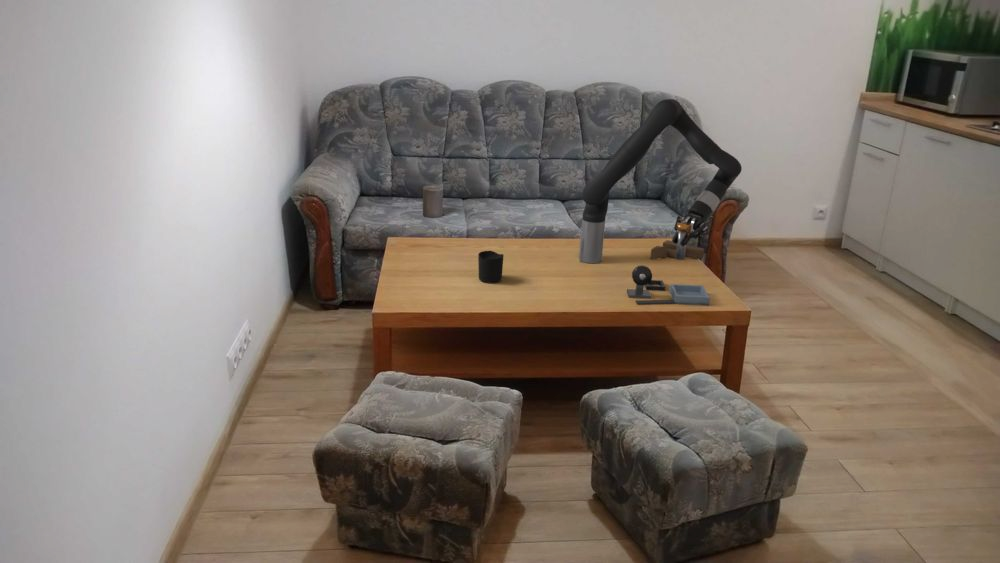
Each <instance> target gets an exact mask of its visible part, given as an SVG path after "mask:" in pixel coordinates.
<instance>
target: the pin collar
mask: <svg viewBox="0 0 1000 563" xmlns="http://www.w3.org/2000/svg"><path fill="white" fill-rule="evenodd" d="M644 288H645V290H649V291H657V290H658V291H661V292H663V291H664V292H666V285H665V283H664V281H663V280H660V279H658V280H656V279H652V280H651V281H650V283H648V284H647V285H644Z"/></svg>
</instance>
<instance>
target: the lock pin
mask: <svg viewBox="0 0 1000 563" xmlns="http://www.w3.org/2000/svg"><path fill="white" fill-rule="evenodd" d="M689 228H690V224H689V223H686V222H679V223H677V230H678V238H677V249H676V258H675V259H676V260H681V261H682V260H685V250H686V245H687V244H686V245H685V246H681V244H680V242H681V240H682V239H683V238H684V236H685V235H687V232H688V230H689Z"/></svg>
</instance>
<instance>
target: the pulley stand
mask: <svg viewBox="0 0 1000 563" xmlns="http://www.w3.org/2000/svg"><path fill="white" fill-rule="evenodd" d="M651 270H652V269H650V267H649V266H647V265H637V266H636V267H634V269H633V270H632V272H631V279H632V280H633V282H634V284H635V289H634V288H627V290H626V293H627V297H628V298H631V299H632V298H633V299H648V300H652V295H651V292H650V290H646V289H644V288H645V285H647V284H648V283H650V281H651V280H653V273H652V271H651Z"/></svg>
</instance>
